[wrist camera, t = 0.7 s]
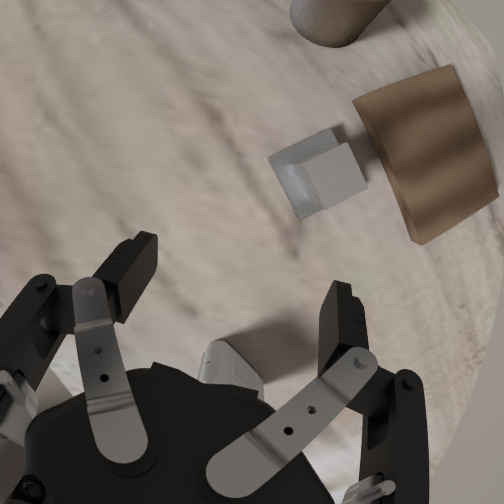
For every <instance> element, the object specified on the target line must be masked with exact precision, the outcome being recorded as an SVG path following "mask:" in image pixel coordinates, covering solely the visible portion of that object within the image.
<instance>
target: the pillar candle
mask: <svg viewBox="0 0 504 504" xmlns="http://www.w3.org/2000/svg"><path fill="white" fill-rule="evenodd" d="M390 1H391V0H292V4H291V9H290V17H291V21H292V24H293V26H294V27H295V28H296V30H297V31H298V33H300V34H301V35H302V36H303V37H304V38H306V39H307V40H309V41H311V42H312V43H315V44H317V45H320V46H325V47H330V48H340V47H345V46H347V45H349V44H351V43H352V42H354V41H355V40H356V39H357V38H358V36H359V35H360V34H361V33H362V32H363V30H364V29H365V28H366V27H367V26H368V25H369V24H370V22H371V21H372V20H373V19H374V18H375V17H376V16H377V15H378V14H379V13H380V12H381V11H382V10H383V8H384V7H385V6H386V5H387V4H388V3H389V2H390Z"/></svg>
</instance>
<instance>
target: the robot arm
mask: <svg viewBox="0 0 504 504" xmlns="http://www.w3.org/2000/svg"><path fill="white" fill-rule="evenodd" d="M157 261H158V237H157V235H156V234H153V233H149V232H145V231H140V232H139V233H138V234H137V236H136V237H135V238H134V239H133V240H132V239H127V240H125V241H123V242H121V243H120V244H119V245H118V246H117V247H116V248H115V249H114V250H113V252H112V253H111V254H110V255H109V257H108V258H107V259H106V260H105V261H104V262H103V264H102V265H101V266H100V267H99V269H98V270H97V271H96V272H95V274H94V275H93V276H92V277H86V278H82V279H80V280H78V281H77V282H76V283H75V284H74V285H73V286H70V285H57V284H56V280H55V278H54V277H53V276H52V275H49V274H39V275H36V276H34V277H33V278H32V279H30V281H29V282H28V283H27V284H26V285H25V287H24V288H23V289H22V291H21V292H20V293H19V294H18V296H17V297H16V298H15V300H14V301H13V302H12V303H11V305H10V306H9V307H8V309H7V310H6V311H5V313H4V314H3V316H2V317H1V318H0V438H2V439H8V438H9V439H11V440H13V441H14V442H16V443H18V444H20V445H21V446H23V447H24V451H25V462H24V470H23V475H22V478H21V480H20V482H19V483H18V485H17V486H16V487H15V489H14V490H13V491H12V493H11V494H10V495H9V496H8V497H7V499H6V500H5V501H4V503H3V504H335V503H334V500H333V498H332V497H331V495H330V493H329V492H328V490H327V489H326V487H325V486H324V484H323V483H322V481H321V480H320V478H319V477H318V475H317V474H316V472H315V471H314V469H313V467H312V466H311V464H310V463H309V461H308V460H307V458H306V456H305V455H304V453H303V452H302V450H303V449H304V448H305V447H306V446H307V445H308V444H309V443H310V442H311V441H312V440H313V439H314V438H315V437H316V436H317V435H318V434H319V433H320V432H321V431H322V430H323V429H324V428H325V427H326V426H327V425H328V424H329V423H330V422H331V421H332V420H333V419H334V418H335V417H336V416H337V415H338V414H339V413H340V412H341V411H342V410H343V409H344V408H345V407H347V408H349V409H351V410H354V411H356V412H358V413H360V414H362V415H363V426H362V445H361V459H360V471H359V482H357V483H355V484H354V485H352V486H350V487H349V488H348V490H347V491H346V493H345V496H344V499H343V501H342V503H341V504H429V448H428V431H427V418H426V407H425V397H424V389H423V383H422V380H421V379H420V377H419V376H418V375H417V374H416V373H415V372H413V371H411V370H408V369H402V370H400V371H398V372H397V373H396V374H394V373H392V372H390V371H388V370H385V369H383V368H381V367H380V366H379V365H378V362H377V359H376V357H375V356H374V355H373V353H371V352H370V351H369V344H368V335H367V327H366V319H365V311H364V306H363V304H362V303H361V301H360V299H359V298H358V297H354V296H352V289H351V284H349V283H345V282H341V281H337V280H334V281H333V282H332V285H331V287H330V289H329V291H328V293H327V296H326V298H325V300H324V302H323V304H322V307H321V310H320V316H319V351H318V376H317V377H316V378H315V379H314V380H313V381H311V382H310V383H309V384H308V385H307V386H306V387H305V388H303V389H302V390H301V391H300V392H299V393H298V394H296V395H295V396H294V397H293V398H292V399H290V400H289V401H288V402H287V403H286V404H284V405H283V406H282V407H281V408H280V409H278V410H277V411H276V410H275V409H274V408H272V407H271V406H270V405H269V404H267V403H266V402H264V401H262V400H261V399H259V398H258V393H259V391H258V390H254V389H249V388H245V387H241V386H237V385H233V384H208V383H202V382H200V381H198V380H196V379H195V378H193V377H191V376H189V375H187V374H186V373H184V372H182V371H180V370H179V369H175V368H172V367H169V366H166V365H163V364H160V363H157V362H153V364H152V366H151V368H138V369H132V370H128V371H126V372H125V368H124V365H123V361H122V358H121V354H120V350H119V347H118V343H117V339H116V335H115V331H114V327H113V325H114V323H115V322H119V323H122V324H124V323H125V321H126V320H127V318H128V316H129V314H130V313H131V311H132V309H133V308H134V306H135V304H136V303H137V301H138V299H139V298H140V296H141V295H142V293H143V291H144V290H145V288H146V286H147V285H148V283H149V282H150V280H151V278H152V277H153V275H154V273H155V271H156V268H157ZM67 334H73V335H75V340H76V347H77V354H78V360H79V366H80V371H81V376H82V382H83V386H84V391H85V392H83V393H81V394H79V395H76V396H74V397H72V398H70V399H68V400H66V401H64V402H62V403H60V404H58V405H56V406H53V407H51V408H49V409H47V410H45V411H43V412H41V413H39V414H38V415H37V416H36V410H37V407H38V398H37V395H36V394H35V391H36V389H37V388H38V386H39V384H40V382H41V380H42V378H43V376H44V374H45V372H46V370H47V369H48V367H49V365H50V363H51V361H52V359H53V358H54V356H55V354H56V352H57V351H58V349H59V347H60V345H61V344H62V342H63V340H64V338H65V337H66V335H67Z"/></svg>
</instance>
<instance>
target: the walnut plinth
mask: <svg viewBox="0 0 504 504" xmlns="http://www.w3.org/2000/svg"><path fill="white" fill-rule="evenodd" d="M352 102H353V104H354V106H355V108H356V110H357V112H358V114H359V116H360V118H361V120H362V122H363V124H364V126H365V128H366V130H367V132H368V134H369V136H370V138H371V140H372V143H373V145H374V147H375V149H376V151H377V154H378V156H379V158H380V160H381V163H382V165H383V167H384V170H385V172H386V174H387V177H388V179H389V182H390V184H391V187H392V189H393V192H394V194H395V197H396V199H397V202H398V205H399V207H400V210H401V213H402V216H403V218H404V221H405V224H406V227H407V230H408V233H409V236H410V239H411V241H413V242H415V243H417V244H419V245H421V246H422V245H424V244H426V243H427V242H429V241H431V240H432V239H434V238H436V237H437V236H439V235H441V234H442V233H444V232H445V231H447V230H449V229H450V228H452V227H453V226H455V225H457V224H458V223H460V222H461V221H463V220H465V219H466V218H468V217H469V216H471V215H472V214H474V213H475V212H477V211H478V210H480V209H481V208H483V207H484V206H486V205H487V204H489V203H490V202H492V201H493V200H495V199H496V198H498V197H499V194H498V190H497V186H496V182H495V178H494V175H493V171H492V168H491V164H490V161H489V158H488V154H487V151H486V148H485V145H484V142H483V139H482V136H481V133H480V131H479V128H478V125H477V122H476V120H475V117H474V115H473V112H472V110H471V107H470V105H469V102H468V100H467V97H466V95H465V93H464V91H463V88H462V86H461V84H460V82H459V80H458V78H457V75H456V73H455V71H454V69H453V67H452V65H451V64H450V65H446V66H443V67H440V68H437V69H434V70H431V71H428V72H425V73H422V74H419V75H416V76H413V77H410V78H407V79H404V80H402V81H399V82H396V83H393V84H391V85H388V86H385V87H383V88H380V89H377V90H375V91H372V92H370V93H367V94H365V95H362V96H360V97H358V98H356V99H355V100H353V101H352Z"/></svg>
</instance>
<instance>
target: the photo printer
mask: <svg viewBox="0 0 504 504" xmlns="http://www.w3.org/2000/svg"><path fill="white" fill-rule="evenodd" d="M197 380H198V381H200V382H202V383H208V384H233V385H237V386H241V387H245V388H249V389H254V390H258V391H259V393H258V398H259V399H261V400H262V401H264V389H263V382H262V380H261V378H260V377H259V375H258V374H257V373H256V372H255V371H254V370H253V369H252V368H251V367H250V365H249V364H248V363H247V362H246V361H245V360H244V359H243V358H242V357H241V356H240V355H239V354H238V353H237V352H236V351H235V350H234V349H233V348H232V347H231V346H230V345H229V344H228V343H226V342H225V341H223V340H222V341H214V342H212V343H210V344H209V345H208V346H207V348H206V351H205V352H204V353H203V357H202V361H201V365H200V370H199V374H198V378H197Z"/></svg>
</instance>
